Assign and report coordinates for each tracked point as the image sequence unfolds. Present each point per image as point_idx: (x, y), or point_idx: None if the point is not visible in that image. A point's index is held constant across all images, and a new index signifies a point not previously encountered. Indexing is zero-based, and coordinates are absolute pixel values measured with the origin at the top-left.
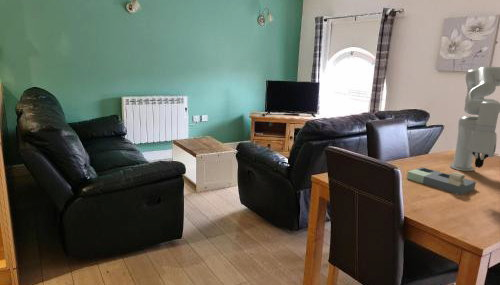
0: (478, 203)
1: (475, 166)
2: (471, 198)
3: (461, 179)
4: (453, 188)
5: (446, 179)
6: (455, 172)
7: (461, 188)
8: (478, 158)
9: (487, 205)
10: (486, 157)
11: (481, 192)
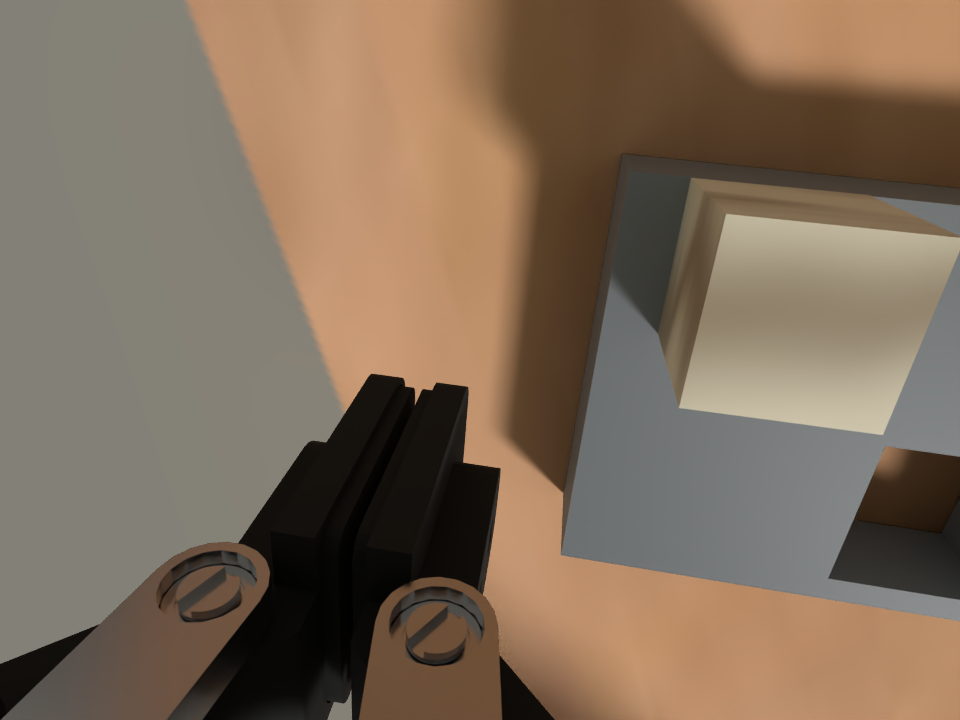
0: (373, 11)
1: (462, 389)
2: (493, 140)
3: (695, 265)
4: (751, 175)
5: (916, 369)
6: (858, 411)
7: (642, 168)
8: (367, 614)
9: (282, 36)
10: (9, 664)
11: (481, 444)
